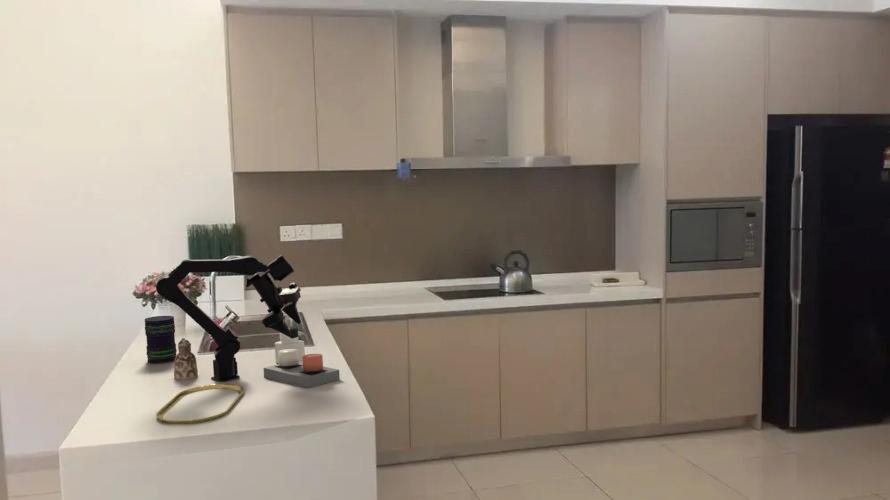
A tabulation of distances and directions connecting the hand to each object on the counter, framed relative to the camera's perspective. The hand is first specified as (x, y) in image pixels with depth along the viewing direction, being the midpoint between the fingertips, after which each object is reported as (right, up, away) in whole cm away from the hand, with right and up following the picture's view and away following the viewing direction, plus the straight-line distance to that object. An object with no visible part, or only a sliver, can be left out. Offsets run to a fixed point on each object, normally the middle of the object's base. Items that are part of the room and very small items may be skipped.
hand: (295, 329), depth 249 cm
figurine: (-34, -15, -2) cm, 37 cm away
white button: (-1, -10, -5) cm, 11 cm away
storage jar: (-51, -13, +22) cm, 57 cm away
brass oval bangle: (-19, -18, -34) cm, 43 cm away
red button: (+8, -10, -13) cm, 19 cm away
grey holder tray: (+3, -14, -9) cm, 17 cm away
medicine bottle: (-4, -13, +13) cm, 18 cm away
